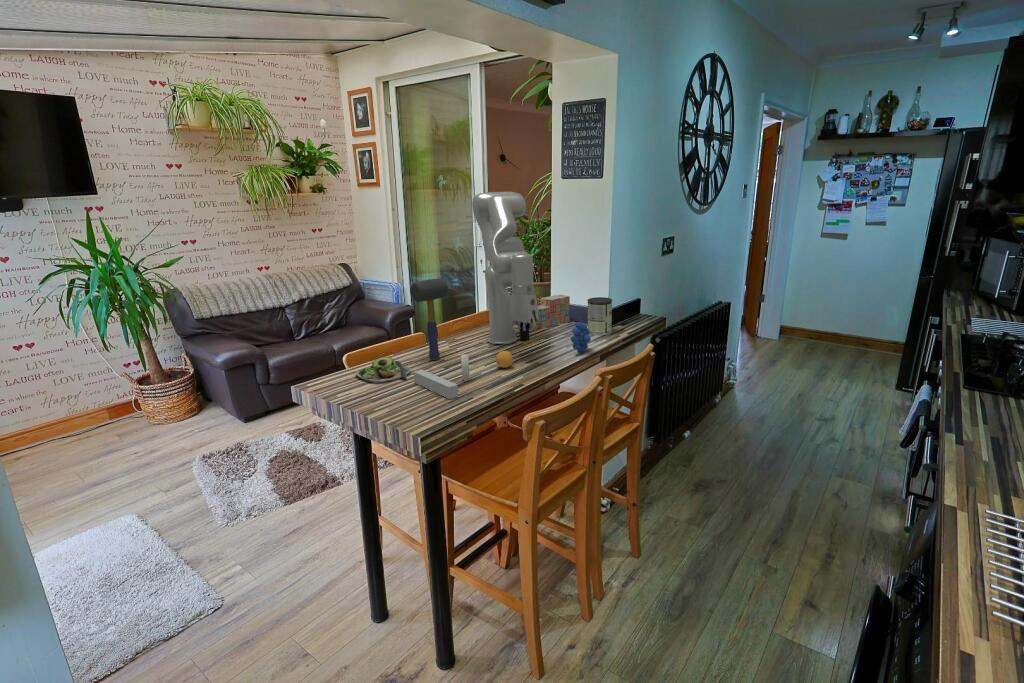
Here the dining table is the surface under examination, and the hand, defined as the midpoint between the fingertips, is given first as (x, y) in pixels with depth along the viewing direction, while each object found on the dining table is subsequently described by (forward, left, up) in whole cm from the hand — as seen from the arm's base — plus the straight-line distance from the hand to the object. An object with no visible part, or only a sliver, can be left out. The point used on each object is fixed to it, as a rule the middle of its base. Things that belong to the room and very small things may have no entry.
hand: (524, 340), depth 187 cm
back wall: (+38, -1, -8) cm, 39 cm away
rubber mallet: (+21, -27, -8) cm, 35 cm away
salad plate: (+42, -27, -9) cm, 51 cm away
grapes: (-22, +8, -8) cm, 25 cm away
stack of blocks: (-43, -31, -8) cm, 54 cm away
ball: (+9, -1, -5) cm, 10 cm away
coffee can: (-49, -6, -8) cm, 50 cm away
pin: (+26, -1, -8) cm, 27 cm away
